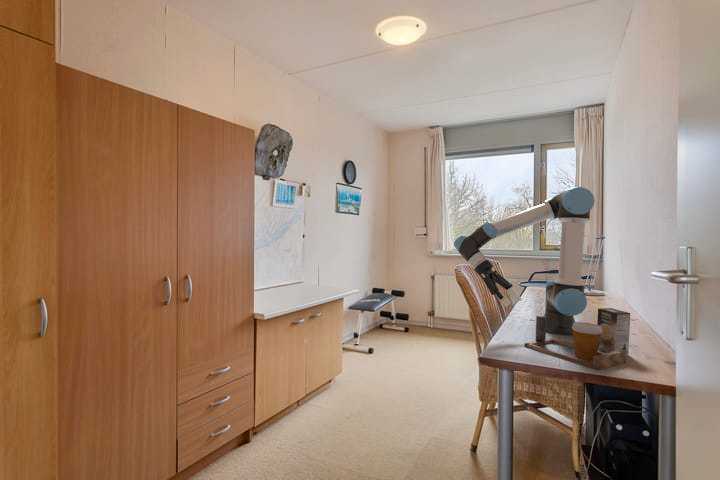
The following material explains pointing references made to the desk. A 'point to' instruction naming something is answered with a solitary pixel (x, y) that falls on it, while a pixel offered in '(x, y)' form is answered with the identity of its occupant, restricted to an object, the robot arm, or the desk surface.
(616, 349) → the coffee box
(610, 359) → the frame
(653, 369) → the desk surface
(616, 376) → the desk surface
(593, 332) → the disposable coffee cup
